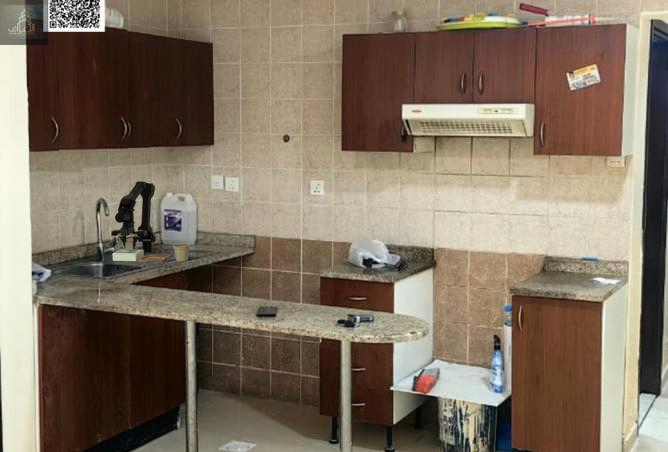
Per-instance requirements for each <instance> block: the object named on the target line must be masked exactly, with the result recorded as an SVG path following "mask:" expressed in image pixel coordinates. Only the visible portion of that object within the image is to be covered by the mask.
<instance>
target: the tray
mask: <svg viewBox="0 0 668 452" xmlns="http://www.w3.org/2000/svg"><path fill="white" fill-rule="evenodd" d="M172 255H173V254H166V253H165V254H161V253H159V254H158V253H157V254H155V253H153V254H151V253H150V254H149V253H146V254H144V256H143V257H141V258H139V259H137V261H136V262H147V263H149V262H151V263H152V262H157V263H161V262H164V261H166V260H168V259H169V258H172V257H173V256H172Z"/></svg>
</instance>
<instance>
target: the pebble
mask: <svg viewBox="0 0 668 452" xmlns="http://www.w3.org/2000/svg"><path fill="white" fill-rule="evenodd" d="M125 248H126V250H134V249H135V248H134V249H133V241H126V243H125V247H124V249H125Z"/></svg>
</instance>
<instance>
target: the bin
mask: <svg viewBox="0 0 668 452" xmlns="http://www.w3.org/2000/svg"><path fill="white" fill-rule="evenodd" d="M123 252H132V253H123ZM143 256H145V252H144V250H142V249H135V248H134V250H126V249H125V248H124V249H123V248H121V249H119V250H116V251H114V252H113V253H112V261H114V262H120V261H121V262H138V261H137V259H139V258H141V257H143Z"/></svg>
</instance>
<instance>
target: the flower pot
mask: <svg viewBox="0 0 668 452" xmlns="http://www.w3.org/2000/svg"><path fill="white" fill-rule="evenodd" d="M190 246H191V244H190V243H178V244H177V243H176V244H173V245H172V247H173V250H174V255H175V261H177V262H184V261H188V260H189V250H190Z"/></svg>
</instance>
